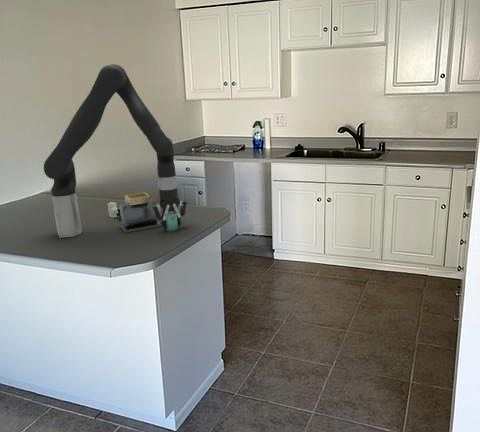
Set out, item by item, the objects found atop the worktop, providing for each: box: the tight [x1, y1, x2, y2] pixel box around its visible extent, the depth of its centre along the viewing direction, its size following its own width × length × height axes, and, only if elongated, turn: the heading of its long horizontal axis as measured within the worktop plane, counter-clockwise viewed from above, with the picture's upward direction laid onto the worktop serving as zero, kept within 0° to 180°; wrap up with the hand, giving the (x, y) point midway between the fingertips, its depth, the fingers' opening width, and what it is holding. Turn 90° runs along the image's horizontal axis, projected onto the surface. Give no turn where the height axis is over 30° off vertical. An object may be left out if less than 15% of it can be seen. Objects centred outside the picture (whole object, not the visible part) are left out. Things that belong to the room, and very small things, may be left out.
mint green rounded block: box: [165, 211, 179, 232], centre depth 194 cm, size 7×5×7 cm
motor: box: [119, 191, 162, 233], centre depth 201 cm, size 16×10×14 cm, turn 116°
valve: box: [107, 201, 122, 221], centre depth 216 cm, size 7×7×12 cm
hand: (171, 227), depth 196 cm, fingers closed on mint green rounded block, 5 cm apart
